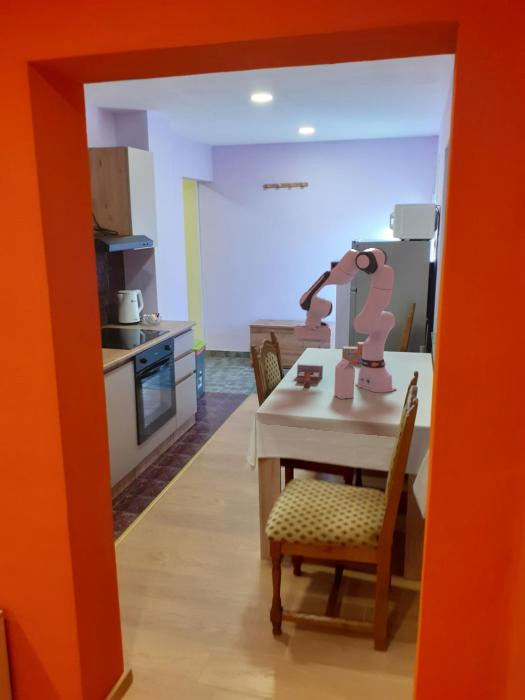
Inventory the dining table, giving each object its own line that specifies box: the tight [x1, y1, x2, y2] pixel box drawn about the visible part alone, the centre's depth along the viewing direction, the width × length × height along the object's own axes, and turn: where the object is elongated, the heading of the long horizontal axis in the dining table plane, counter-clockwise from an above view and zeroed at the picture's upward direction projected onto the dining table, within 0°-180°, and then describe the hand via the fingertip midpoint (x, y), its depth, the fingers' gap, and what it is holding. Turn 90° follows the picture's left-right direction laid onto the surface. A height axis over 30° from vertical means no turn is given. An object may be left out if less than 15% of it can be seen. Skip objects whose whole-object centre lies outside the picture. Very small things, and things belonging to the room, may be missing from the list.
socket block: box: [297, 371, 321, 385], centre depth 311 cm, size 11×11×4 cm
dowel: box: [303, 372, 311, 389], centre depth 299 cm, size 3×3×8 cm
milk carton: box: [333, 357, 356, 400], centre depth 282 cm, size 7×7×19 cm
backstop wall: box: [296, 364, 324, 379], centre depth 318 cm, size 2×14×7 cm, turn 81°
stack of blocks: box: [341, 341, 365, 364], centre depth 353 cm, size 21×6×12 cm, turn 87°
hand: (310, 347), depth 311 cm, fingers open, 8 cm apart
